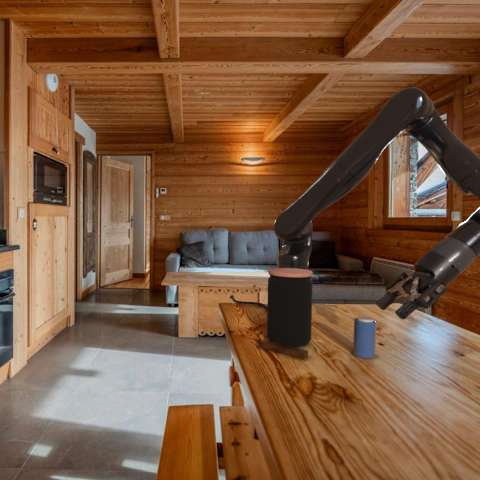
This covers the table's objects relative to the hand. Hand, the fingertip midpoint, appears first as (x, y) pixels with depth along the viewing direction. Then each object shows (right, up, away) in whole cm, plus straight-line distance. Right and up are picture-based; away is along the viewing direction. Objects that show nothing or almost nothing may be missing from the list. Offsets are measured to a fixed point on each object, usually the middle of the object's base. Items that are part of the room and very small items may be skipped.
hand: (388, 311), depth 87 cm
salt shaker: (-5, -10, +1) cm, 11 cm away
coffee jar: (-19, -10, +11) cm, 24 cm away
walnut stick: (-23, -10, +3) cm, 25 cm away
